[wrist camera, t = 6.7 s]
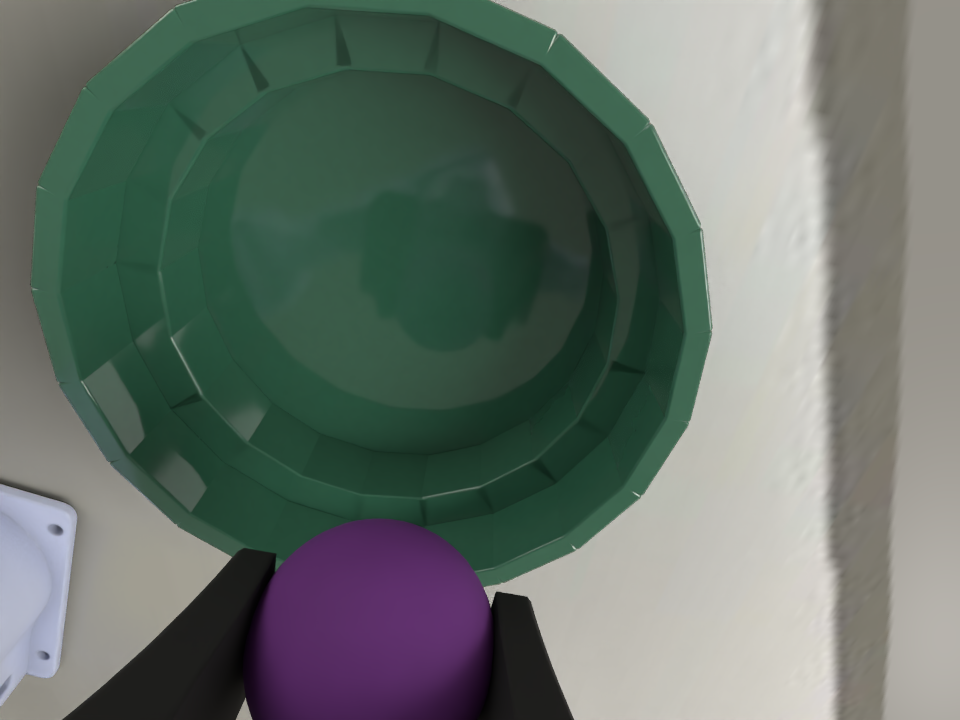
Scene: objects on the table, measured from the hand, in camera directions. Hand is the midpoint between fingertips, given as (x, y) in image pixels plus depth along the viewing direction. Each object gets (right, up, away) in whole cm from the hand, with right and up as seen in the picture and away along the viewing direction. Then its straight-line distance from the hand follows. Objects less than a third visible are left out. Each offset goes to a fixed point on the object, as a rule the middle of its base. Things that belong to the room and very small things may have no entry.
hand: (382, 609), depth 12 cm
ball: (0, 0, -1) cm, 1 cm away
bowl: (0, +7, +6) cm, 9 cm away
